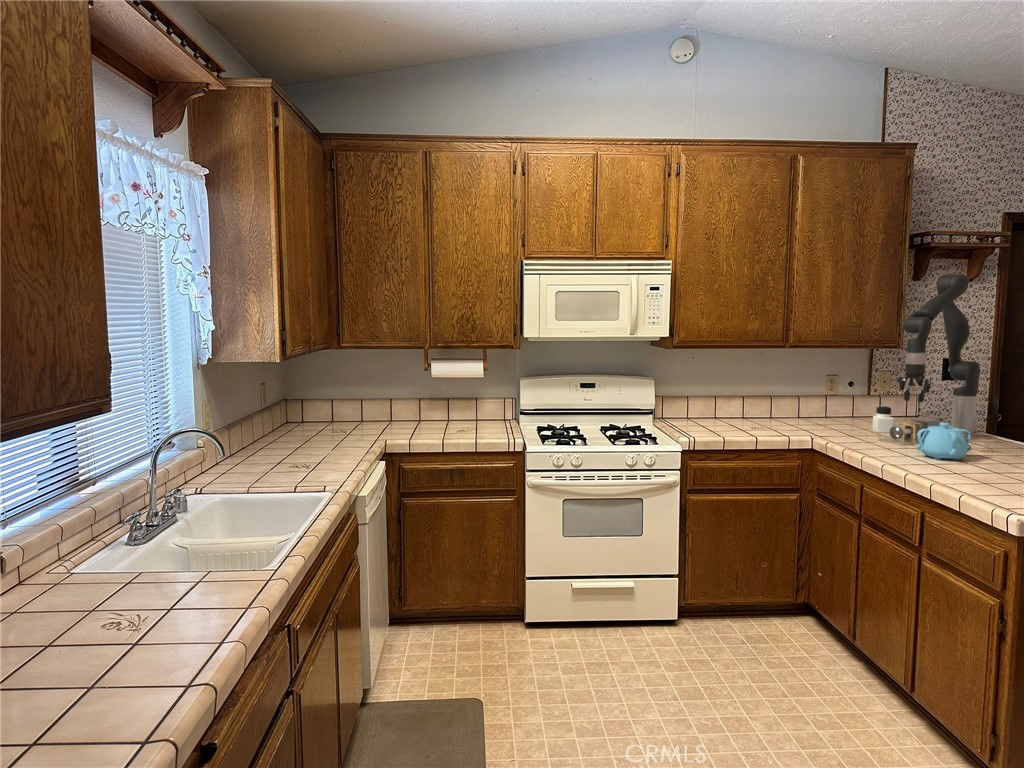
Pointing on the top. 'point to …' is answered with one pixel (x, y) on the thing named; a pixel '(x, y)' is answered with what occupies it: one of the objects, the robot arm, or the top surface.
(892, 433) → the shaft
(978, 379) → the robot arm
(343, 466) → the top surface
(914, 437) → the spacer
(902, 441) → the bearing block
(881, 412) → the medicine bottle
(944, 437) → the decorative pot
